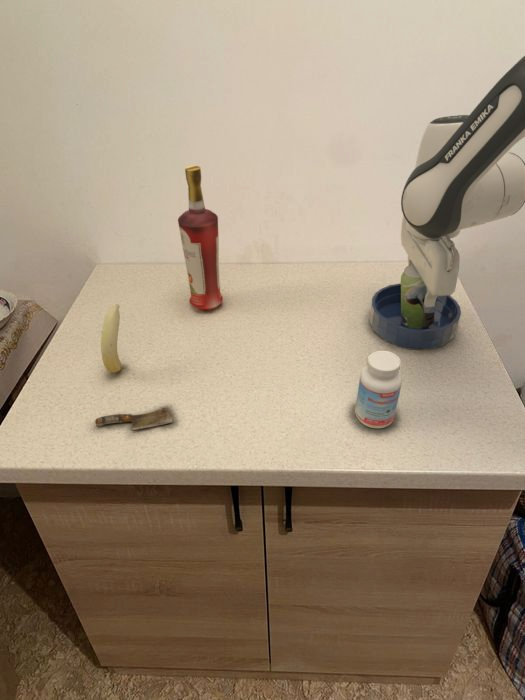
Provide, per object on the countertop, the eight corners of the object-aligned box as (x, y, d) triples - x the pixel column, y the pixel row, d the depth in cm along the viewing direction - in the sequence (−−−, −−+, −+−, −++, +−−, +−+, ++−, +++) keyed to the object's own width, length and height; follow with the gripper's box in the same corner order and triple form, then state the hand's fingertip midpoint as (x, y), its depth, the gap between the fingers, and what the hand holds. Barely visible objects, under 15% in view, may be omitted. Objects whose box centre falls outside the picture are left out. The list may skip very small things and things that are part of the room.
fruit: (95, 380, 84) (110, 384, 83) (98, 312, 79) (114, 316, 79) (111, 366, 89) (125, 370, 89) (114, 302, 84) (129, 306, 84)
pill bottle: (365, 433, 76) (374, 378, 69) (348, 406, 80) (355, 351, 73) (401, 425, 77) (413, 369, 70) (383, 398, 82) (393, 343, 75)
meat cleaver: (170, 433, 77) (176, 410, 81) (170, 427, 76) (175, 405, 80) (93, 430, 77) (103, 408, 81) (92, 425, 76) (101, 402, 80)
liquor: (182, 303, 105) (163, 167, 87) (212, 291, 108) (199, 158, 91) (200, 318, 100) (184, 179, 83) (231, 306, 103) (222, 169, 86)
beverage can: (436, 333, 94) (449, 277, 87) (396, 333, 94) (406, 277, 87) (428, 314, 99) (440, 259, 91) (390, 314, 99) (399, 260, 92)
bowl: (439, 300, 104) (444, 281, 101) (468, 349, 91) (474, 329, 88) (361, 303, 103) (364, 284, 101) (379, 352, 91) (383, 332, 88)
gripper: (476, 246, 76) (456, 322, 84) (434, 196, 92) (421, 263, 100) (435, 248, 75) (419, 324, 84) (399, 197, 92) (389, 265, 100)
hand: (420, 290), depth 92 cm, fingers open, 8 cm apart
